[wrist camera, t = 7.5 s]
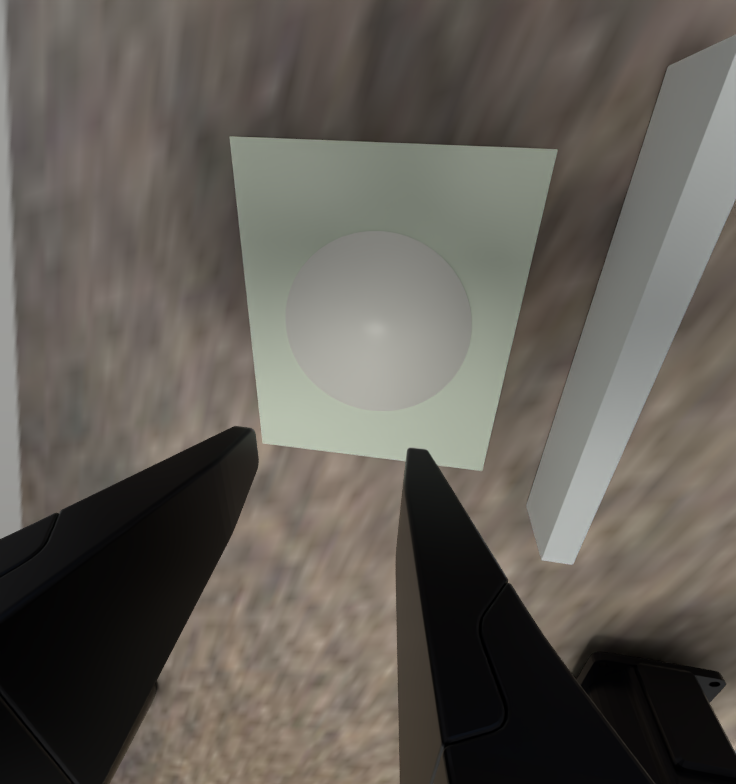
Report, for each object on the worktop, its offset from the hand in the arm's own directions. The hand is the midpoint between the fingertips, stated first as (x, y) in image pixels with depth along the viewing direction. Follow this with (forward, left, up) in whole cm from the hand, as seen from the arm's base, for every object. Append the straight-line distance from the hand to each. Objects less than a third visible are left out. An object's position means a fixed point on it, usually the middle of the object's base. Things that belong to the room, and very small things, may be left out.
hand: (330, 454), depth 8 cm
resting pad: (0, 0, -8) cm, 8 cm away
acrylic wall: (0, -8, -8) cm, 11 cm away
